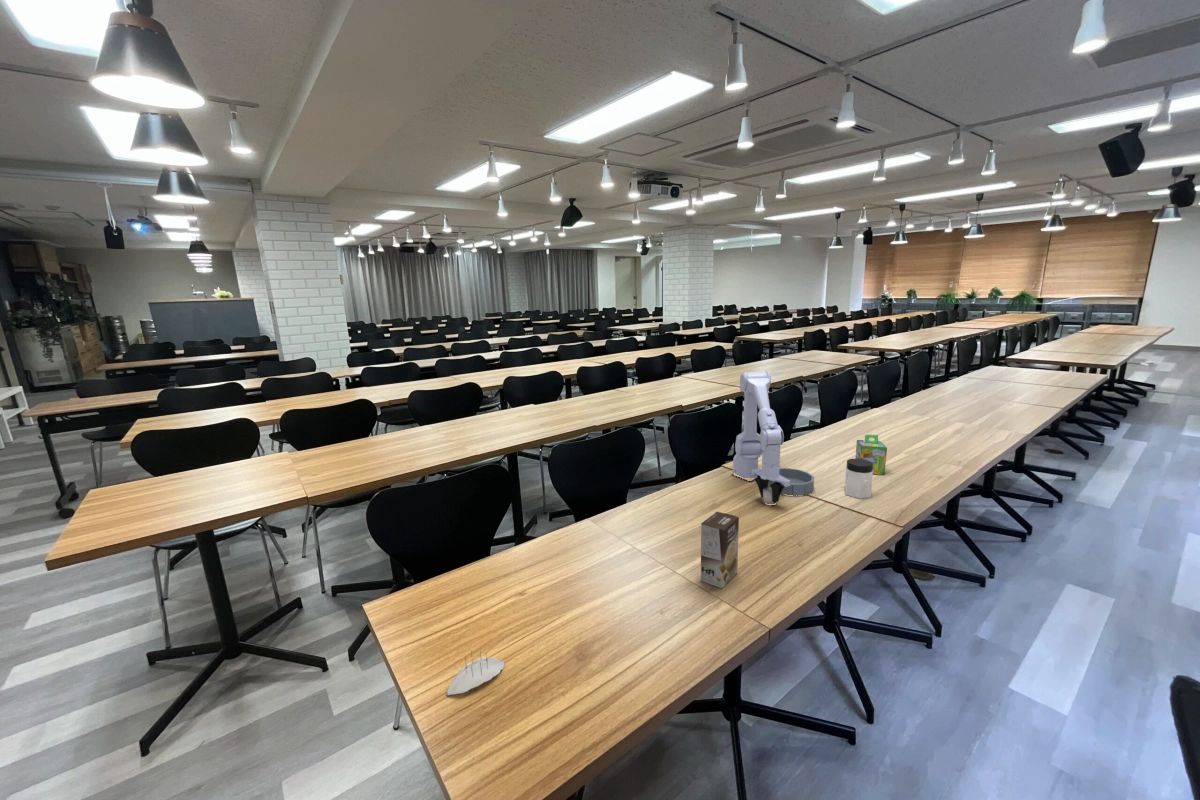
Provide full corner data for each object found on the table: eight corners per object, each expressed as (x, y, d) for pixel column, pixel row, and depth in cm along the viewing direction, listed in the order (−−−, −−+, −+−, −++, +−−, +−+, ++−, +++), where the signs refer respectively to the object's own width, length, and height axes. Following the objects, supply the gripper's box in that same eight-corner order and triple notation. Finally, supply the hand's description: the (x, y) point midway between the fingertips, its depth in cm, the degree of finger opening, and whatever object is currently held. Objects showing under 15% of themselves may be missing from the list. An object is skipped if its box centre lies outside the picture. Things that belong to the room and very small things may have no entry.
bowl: (756, 485, 179) (756, 474, 178) (784, 475, 187) (785, 465, 186) (793, 500, 165) (794, 488, 164) (822, 489, 173) (823, 477, 172)
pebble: (760, 502, 164) (760, 489, 163) (768, 499, 167) (768, 486, 166) (770, 507, 161) (770, 493, 160) (778, 503, 163) (779, 490, 162)
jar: (853, 499, 164) (855, 467, 161) (838, 490, 171) (840, 459, 169) (877, 497, 165) (879, 464, 162) (861, 488, 173) (863, 457, 170)
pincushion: (453, 707, 86) (450, 681, 85) (441, 687, 91) (438, 661, 90) (512, 673, 94) (509, 649, 92) (498, 656, 98) (495, 633, 97)
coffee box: (723, 589, 117) (723, 530, 113) (699, 580, 121) (700, 523, 118) (738, 572, 124) (739, 516, 120) (715, 564, 128) (716, 510, 124)
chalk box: (859, 474, 186) (861, 438, 183) (854, 466, 195) (856, 431, 191) (885, 475, 183) (888, 439, 180) (879, 467, 192) (882, 432, 189)
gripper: (746, 459, 165) (745, 495, 167) (780, 471, 152) (779, 509, 155) (759, 455, 168) (758, 490, 171) (794, 466, 156) (793, 504, 159)
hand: (769, 499), depth 163 cm, fingers closed on pebble, 4 cm apart
